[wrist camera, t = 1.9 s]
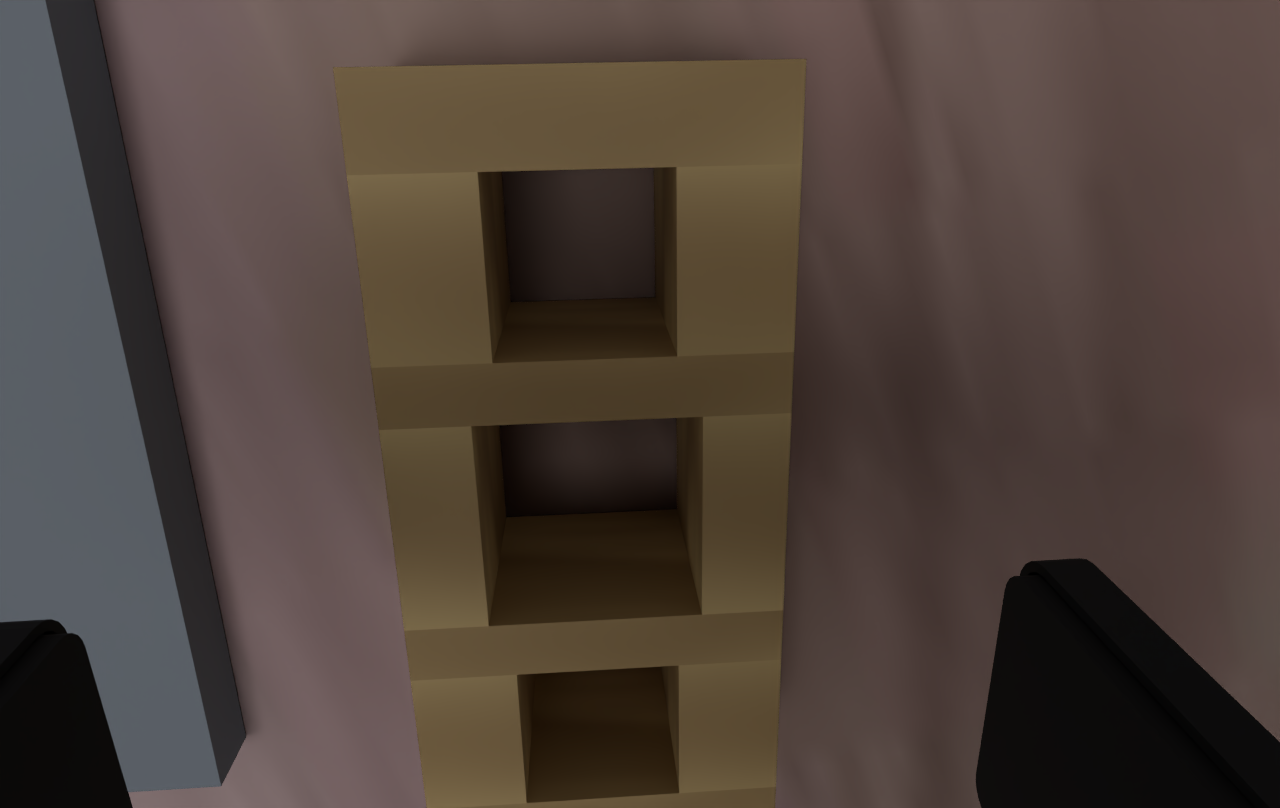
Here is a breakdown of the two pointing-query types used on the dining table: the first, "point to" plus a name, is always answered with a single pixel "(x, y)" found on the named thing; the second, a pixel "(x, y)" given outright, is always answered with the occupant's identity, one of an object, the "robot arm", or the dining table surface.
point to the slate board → (98, 416)
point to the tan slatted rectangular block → (580, 392)
